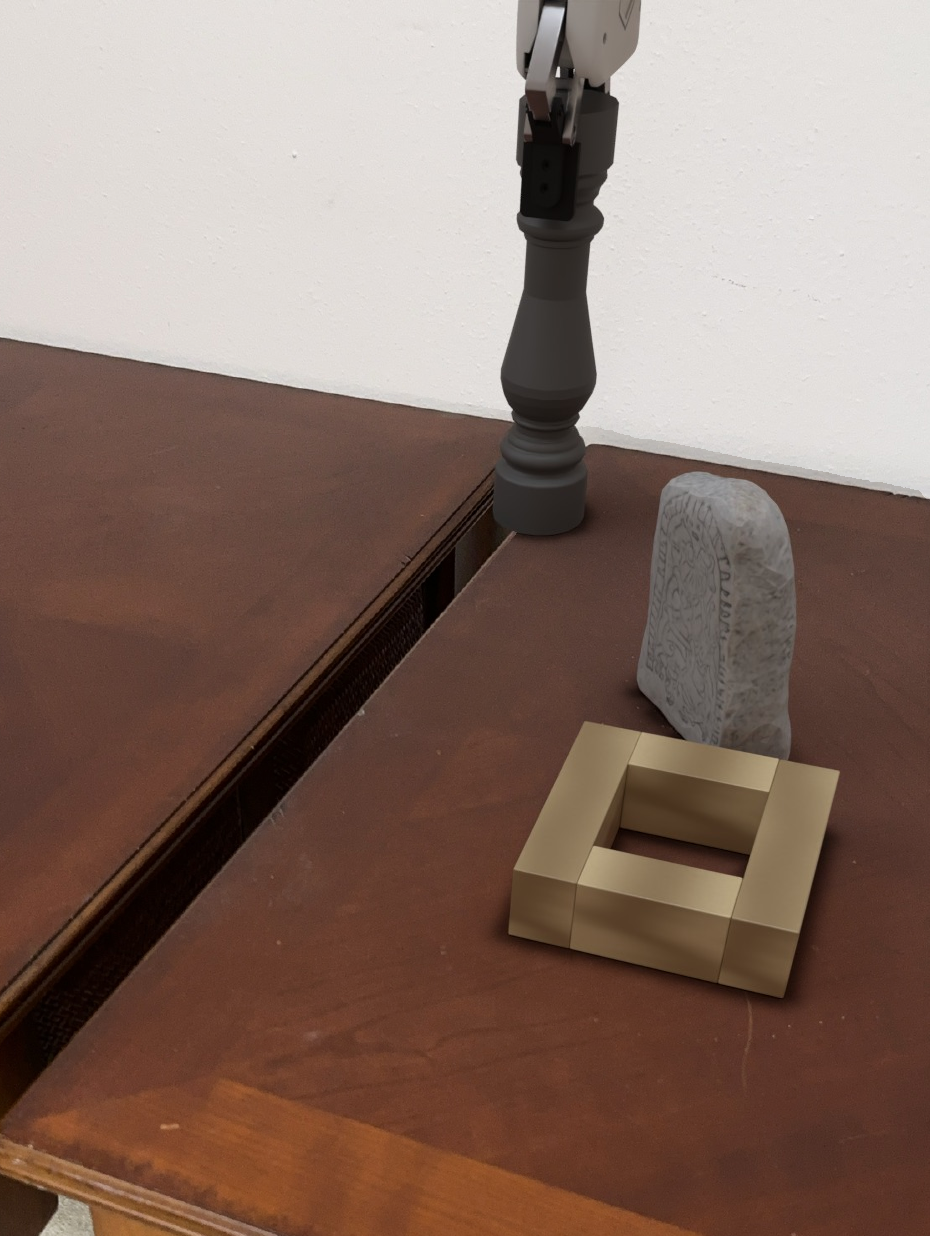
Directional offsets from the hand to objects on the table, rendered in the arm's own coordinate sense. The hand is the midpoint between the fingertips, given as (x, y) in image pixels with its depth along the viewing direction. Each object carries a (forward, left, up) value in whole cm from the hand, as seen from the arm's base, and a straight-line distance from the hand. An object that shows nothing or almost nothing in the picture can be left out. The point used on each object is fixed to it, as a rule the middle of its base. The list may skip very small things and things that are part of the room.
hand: (561, 197), depth 91 cm
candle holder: (0, 0, -20) cm, 20 cm away
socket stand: (-17, +36, -20) cm, 45 cm away
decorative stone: (-16, +22, -20) cm, 34 cm away
